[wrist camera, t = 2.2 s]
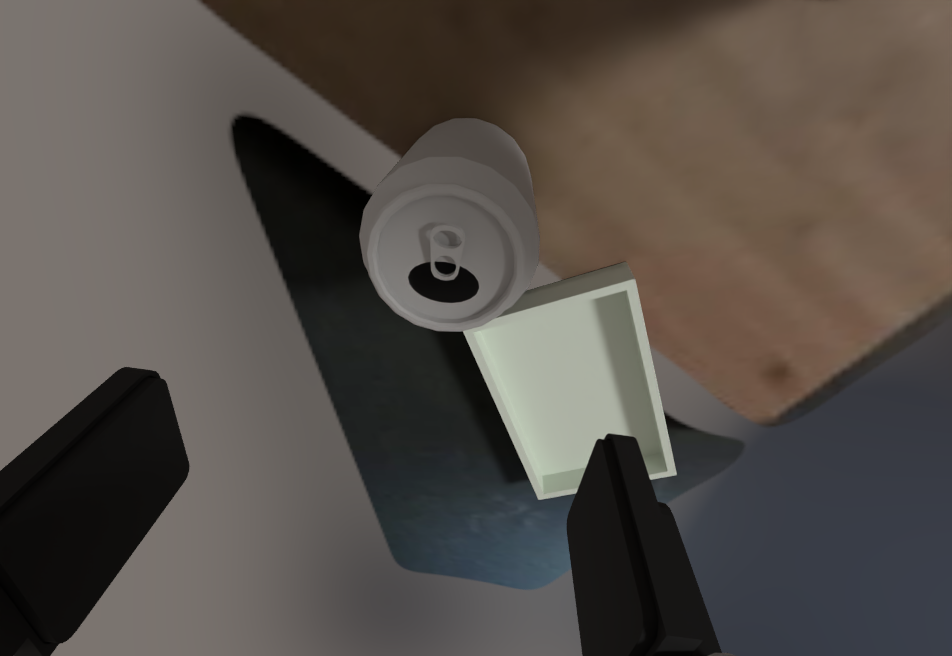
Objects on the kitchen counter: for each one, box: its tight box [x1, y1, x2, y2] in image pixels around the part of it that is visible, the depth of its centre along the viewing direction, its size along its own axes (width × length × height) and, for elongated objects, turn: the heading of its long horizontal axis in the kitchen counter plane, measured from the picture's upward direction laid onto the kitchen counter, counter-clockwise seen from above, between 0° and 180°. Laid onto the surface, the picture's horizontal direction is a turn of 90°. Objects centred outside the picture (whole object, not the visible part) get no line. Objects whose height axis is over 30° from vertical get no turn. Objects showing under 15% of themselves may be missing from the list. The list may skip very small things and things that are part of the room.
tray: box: [463, 262, 677, 500], centre depth 35 cm, size 18×11×2 cm, turn 20°
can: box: [359, 118, 540, 332], centre depth 23 cm, size 8×8×12 cm
